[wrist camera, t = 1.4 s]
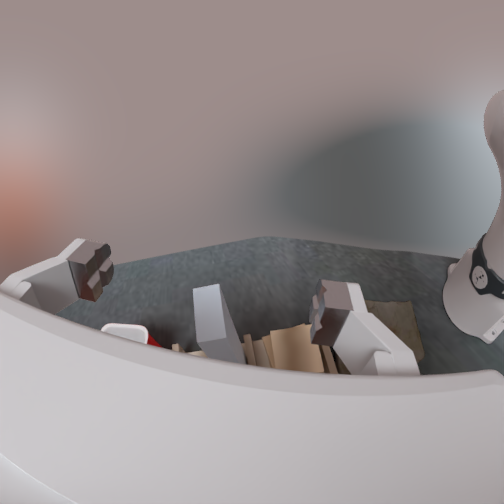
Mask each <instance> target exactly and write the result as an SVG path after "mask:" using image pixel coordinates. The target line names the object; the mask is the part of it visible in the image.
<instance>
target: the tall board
mask: <svg viewBox="0 0 504 504" xmlns="http://www.w3.org/2000/svg"><path fill="white" fill-rule="evenodd" d="M193 298H194V312H195V324H196V336H197V343H198V345H199V346H200V347H201V349H202V350H203V352H204V353H205V354H206V356H207V357H208V358H212V359H217V360H223V361H228V362H234V363H240V364H247V360H246V356H245V353H244V350H243V348H242V345H241V343H240V340H239V337H238V335H237V332H236V329H235V327H234V324H233V321H232V319H231V316H230V313H229V310H228V308H227V305H226V302H225V299H224V297H223V294H222V291H221V288H220V285H219V284H216V285H211V286H206V287H200V288H195V289H193Z"/></svg>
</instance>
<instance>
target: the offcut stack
mask: <svg viewBox="0 0 504 504" xmlns="http://www.w3.org/2000/svg"><path fill="white" fill-rule="evenodd" d="M311 326H312V324H310V325H305V323H304V324H301V325H298V326H295V327H292V328H287V329H281V330H275V331H270V335H268V336H264V337H262V340H263V344H264V347H265V350H266V353H267V355H268V360H269V364H270V368H275V369H284V370H293V371H303V372H315V373H324V367H323V363H322V359H321V354H320V350H319V345H316V344H311V339H310V329H311Z"/></svg>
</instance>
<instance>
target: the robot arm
mask: <svg viewBox="0 0 504 504" xmlns="http://www.w3.org/2000/svg"><path fill="white" fill-rule="evenodd" d="M484 130H485V136H486V139H487V142H488V145H489V147H490V149H491V151H492V152H493V155H494V157H495V159H496V162H497V165H498V168H499V172H500V177H501V187H502V191H501V200H500V204H499V207H498V210H497V213H496V215H495V217H494V220H493V222H492V224H491V226H490V228H489V230H488V232H487V233H485V234H484V235H483V236H482V238H481V239H480V240H479V241H478V243H477V245H476V247H475V248H472V249H471V248H469V249H468V250H467V251H466V253H465V254H464V256H463V257H462V258H461V259H460V261H459V262H458V263H454V264H451V265H450V266H449V267H448V279H447V281H446V283H445V285H444V289H443V302H444V306H445V309H446V312H447V314H448V316H449V318H450V319H451V321H452V322H453V323H454V324H455V325H456V326H457V327H458V328H459V329H460V330H461V331H463V332H464V333H466V334H469V335H472V336H476V337H479V338H480V339H482V340H483V341H484V342H486V343H487V344H491V343H492V342H493V341H494V340H495V339H496V338H497V336H498V335H499V334H500V333H501V332H502V331H503V330H504V90H502V91H500V92H498V93H497V94H495V95H494V96H493V97H492V98H491V100H490V101H489V103H488V105H487V107H486V110H485V115H484ZM110 254H111V250H110V246H109V245H108V244H106V243H101V242H96V241H92V240H87V239H81V238H78V239H75V241H73V242H72V243H71V244H70V245H69V246H68V247H67V248H66V249H65V250H64V251H63V252H62V253H61V254H59V256H57V257H56V258H55V257H53V258H50V259H48V260H45V261H43V262H40V263H38V264H35V265H33V266H30V267H28V268H26V269H23V270H21V271H18V272H16V273H14V274H11V275H10V276H9V277H8V278H7V279H6V280H5V281H4V282H3V283H2V284H1V285H0V504H504V376H503V375H502V374H500V373H499V372H498V371H496V370H481V371H473V372H463V373H451V374H435V375H420V372H419V369H418V366H417V362H416V359H415V356H414V353H413V351H412V350H411V349H410V348H409V347H407V346H406V345H405V344H404V343H403V342H402V341H401V340H400V339H399V338H398V337H397V336H396V335H395V334H394V333H393V332H391V331H390V330H389V329H388V328H387V327H386V326H385V325H384V324H383V323H382V322H381V321H380V320H379V319H377V318H376V317H375V316H374V315H373V314H372V313H368V311H367V308H366V305H365V301H364V298H363V295H362V292H361V289H360V286H359V284H358V283H349V282H338V281H330V280H323V279H319V281H318V283H317V286H316V295H315V296H314V297H313V298H312V301H311V304H310V310H309V322H310V323H311V324H312V326H311V329H310V339H311V344H316V345H324V346H332V347H333V349H334V350H335V352H336V353H337V354H338V356H339V357H340V359H341V360H342V361H343V363H344V364H345V366H346V367H347V369H348V370H349V371H350V373H351V374H352V375H345V374H328V373H315V372H303V371H293V370H284V369H275V368H267V367H260V366H253V365H247V364H240V363H234V362H228V361H223V360H217V359H212V358H207V357H202V356H197V355H192V354H187V353H183V352H178V351H174V350H169V349H165V348H161V347H157V346H153V345H149V344H145V343H141V342H137V341H134V340H130V339H127V338H123V337H120V336H116V335H113V334H109V333H106V332H103V331H100V330H97V329H93V328H90V327H87V326H84V325H81V324H79V323H76V322H73V321H70V320H67V319H64V318H62V317H59V316H56V315H55V314H56V313H58V312H59V311H61V310H62V309H64V308H66V307H67V306H69V305H70V304H72V303H73V302H75V301H77V300H78V299H79V298H81V299H85V300H89V301H93V302H96V301H97V299H98V298H99V297H100V295H101V294H102V293H103V288H102V287H104V286H107V285H108V284H109V283H110V281H111V280H112V277H113V272H114V267H113V262H112V261H111V260H110V258H109V256H110ZM492 334H493V335H492Z"/></svg>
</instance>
